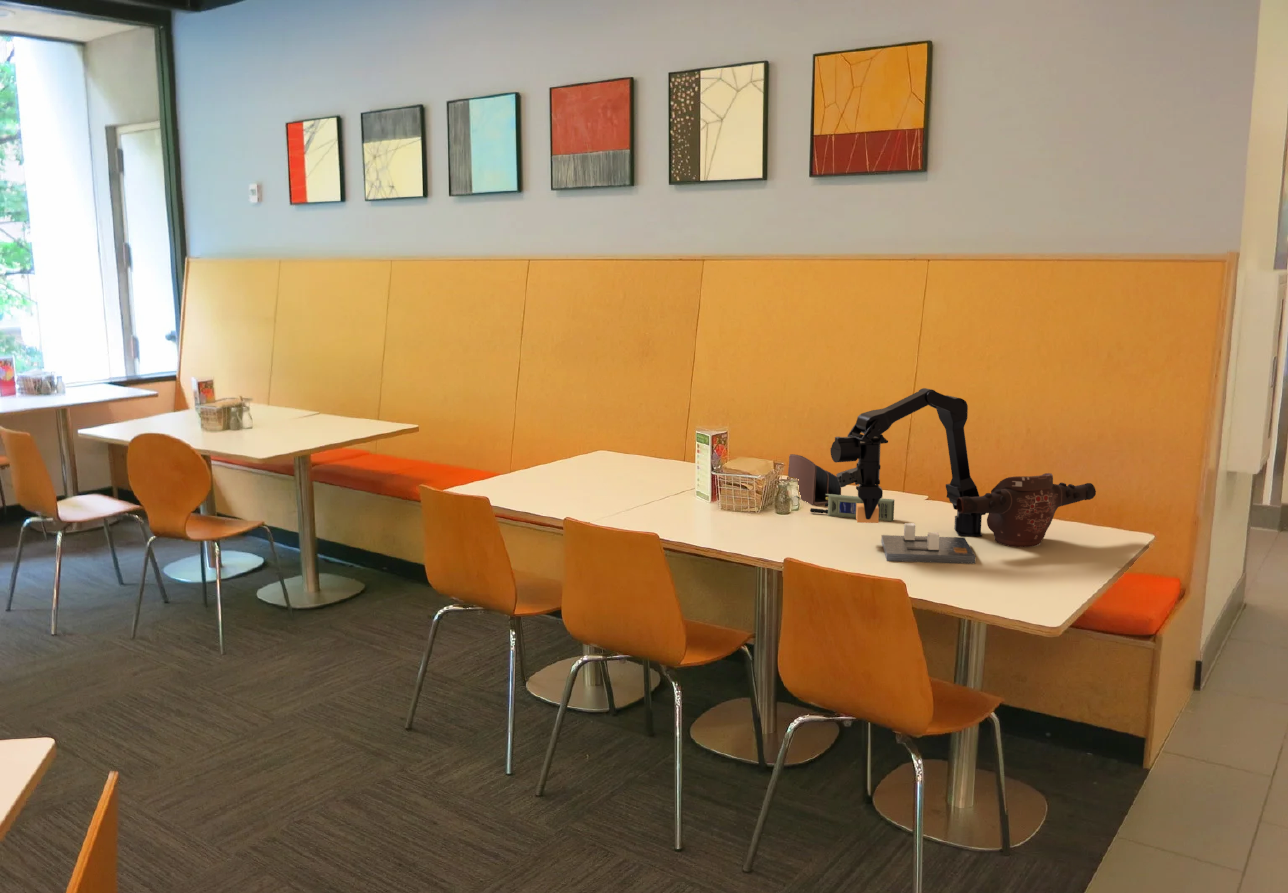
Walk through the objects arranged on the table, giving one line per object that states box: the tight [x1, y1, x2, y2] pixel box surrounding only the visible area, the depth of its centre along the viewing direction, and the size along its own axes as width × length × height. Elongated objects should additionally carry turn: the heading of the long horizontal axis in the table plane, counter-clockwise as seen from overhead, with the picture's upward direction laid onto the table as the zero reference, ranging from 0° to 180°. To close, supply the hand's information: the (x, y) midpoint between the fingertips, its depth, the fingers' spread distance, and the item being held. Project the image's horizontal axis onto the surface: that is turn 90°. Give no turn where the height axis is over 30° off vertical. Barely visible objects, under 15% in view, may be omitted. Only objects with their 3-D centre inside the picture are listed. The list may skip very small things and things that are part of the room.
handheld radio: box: [809, 494, 895, 522], centre depth 315 cm, size 7×3×25 cm
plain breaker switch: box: [903, 522, 916, 540], centre depth 282 cm, size 3×3×4 cm
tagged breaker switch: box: [927, 531, 940, 550], centre depth 273 cm, size 3×3×4 cm
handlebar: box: [956, 472, 1097, 548], centre depth 283 cm, size 45×13×20 cm, turn 111°
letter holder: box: [787, 454, 842, 506], centre depth 340 cm, size 10×20×14 cm, turn 17°
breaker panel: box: [880, 534, 976, 565], centre depth 277 cm, size 22×18×2 cm
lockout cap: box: [855, 503, 880, 524], centre depth 285 cm, size 6×6×4 cm
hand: (867, 516), depth 285 cm, fingers closed on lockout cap, 6 cm apart
